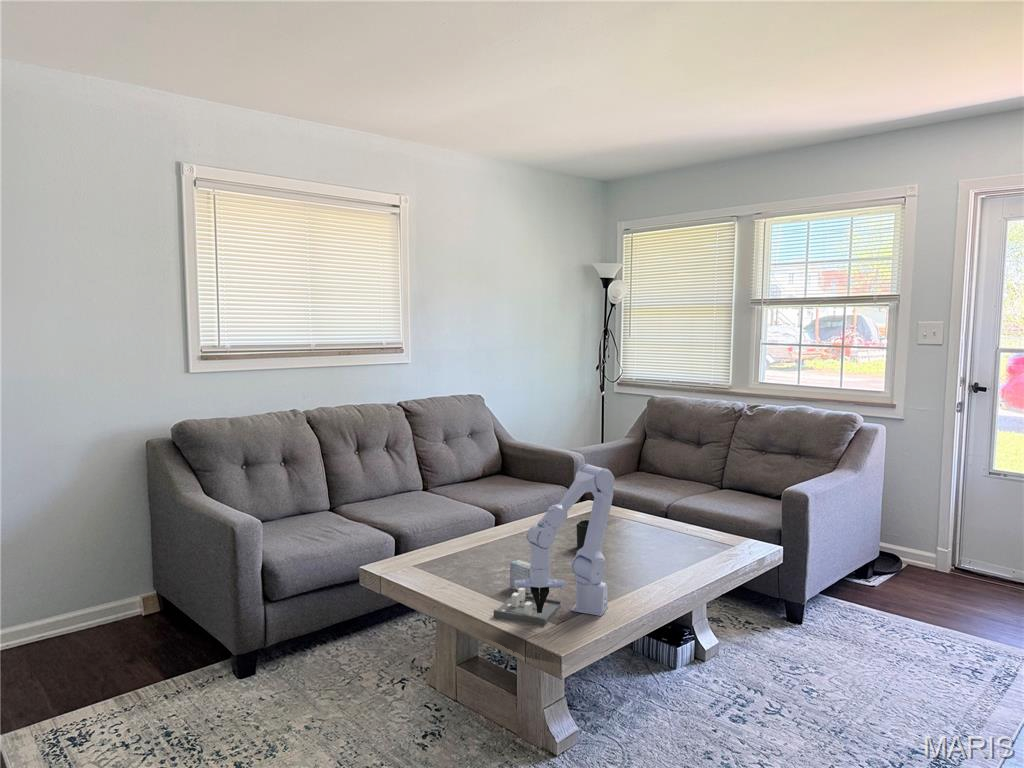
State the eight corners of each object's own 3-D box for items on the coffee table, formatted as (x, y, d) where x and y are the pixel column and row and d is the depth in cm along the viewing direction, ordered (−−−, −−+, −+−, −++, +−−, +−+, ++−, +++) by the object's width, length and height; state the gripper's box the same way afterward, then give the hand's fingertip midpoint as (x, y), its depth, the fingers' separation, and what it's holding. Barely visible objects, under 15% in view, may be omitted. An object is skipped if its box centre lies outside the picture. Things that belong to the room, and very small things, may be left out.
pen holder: (604, 550, 268) (605, 525, 267) (583, 553, 264) (583, 527, 264) (593, 543, 277) (593, 519, 276) (572, 546, 273) (572, 521, 272)
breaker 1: (519, 604, 211) (519, 593, 211) (516, 607, 209) (516, 595, 209) (514, 603, 212) (514, 592, 212) (511, 606, 210) (511, 595, 209)
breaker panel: (560, 607, 213) (560, 600, 213) (544, 626, 199) (544, 619, 199) (512, 598, 219) (512, 592, 219) (493, 617, 205) (493, 610, 205)
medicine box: (536, 590, 226) (536, 564, 226) (527, 594, 223) (527, 568, 222) (518, 584, 232) (518, 559, 231) (509, 588, 228) (509, 562, 228)
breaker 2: (525, 598, 216) (525, 587, 216) (522, 601, 214) (522, 590, 213) (520, 597, 216) (520, 586, 216) (517, 600, 214) (517, 589, 214)
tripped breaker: (532, 614, 204) (532, 602, 204) (529, 617, 202) (529, 605, 202) (527, 613, 205) (527, 601, 205) (524, 616, 203) (524, 604, 202)
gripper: (563, 561, 205) (562, 606, 206) (514, 561, 205) (514, 606, 206) (566, 570, 198) (565, 615, 199) (515, 570, 198) (515, 616, 199)
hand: (539, 611), depth 202 cm, fingers closed
